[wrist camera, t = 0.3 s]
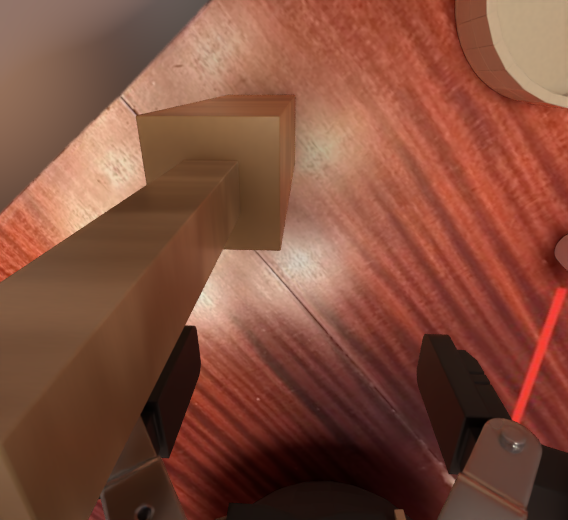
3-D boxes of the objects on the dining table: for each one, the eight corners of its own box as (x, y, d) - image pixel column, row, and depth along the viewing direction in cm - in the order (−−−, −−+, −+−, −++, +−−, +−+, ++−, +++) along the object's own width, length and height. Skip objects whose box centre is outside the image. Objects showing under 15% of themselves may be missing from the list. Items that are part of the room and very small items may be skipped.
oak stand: (227, 94, 34) (135, 115, 16) (295, 94, 33) (279, 116, 15) (231, 163, 36) (156, 248, 18) (294, 164, 36) (280, 251, 18)
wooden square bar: (183, 159, 16) (-230, 433, 4) (238, 160, 16) (-2, 445, 4) (189, 213, 17) (-121, 564, 5) (240, 214, 17) (61, 576, 5)
